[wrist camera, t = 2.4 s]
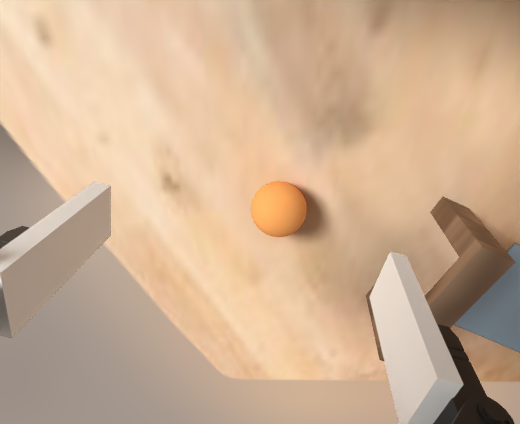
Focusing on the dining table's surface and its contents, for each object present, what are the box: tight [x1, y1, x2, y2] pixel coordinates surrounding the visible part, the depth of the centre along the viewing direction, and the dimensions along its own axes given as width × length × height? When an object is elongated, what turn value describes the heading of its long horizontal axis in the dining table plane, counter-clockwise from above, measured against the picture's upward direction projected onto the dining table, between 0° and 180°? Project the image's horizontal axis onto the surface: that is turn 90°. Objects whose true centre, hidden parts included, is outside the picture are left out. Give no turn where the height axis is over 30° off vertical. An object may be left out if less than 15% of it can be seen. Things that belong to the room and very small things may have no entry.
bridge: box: [366, 197, 516, 361], centre depth 35 cm, size 3×14×9 cm, turn 157°
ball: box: [251, 182, 307, 237], centre depth 35 cm, size 6×6×6 cm
